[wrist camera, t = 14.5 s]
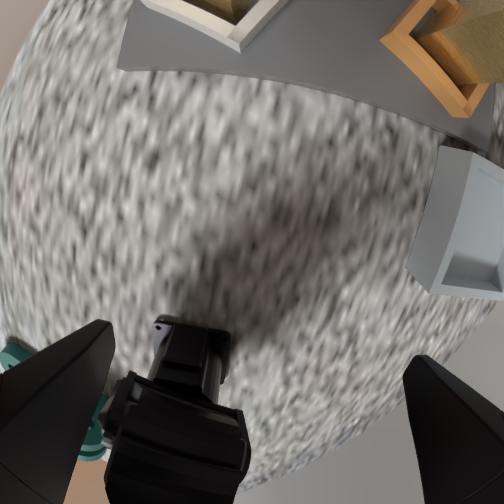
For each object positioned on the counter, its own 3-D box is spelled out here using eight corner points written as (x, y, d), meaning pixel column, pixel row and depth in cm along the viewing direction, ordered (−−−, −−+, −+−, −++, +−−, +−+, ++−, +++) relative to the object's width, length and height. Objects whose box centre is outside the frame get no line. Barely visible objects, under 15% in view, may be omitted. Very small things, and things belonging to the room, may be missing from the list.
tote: (479, 279, 21) (502, 300, 18) (405, 267, 21) (428, 293, 17) (511, 182, 17) (540, 193, 14) (439, 145, 17) (473, 152, 13)
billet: (448, 85, 14) (559, 84, 5) (408, 43, 13) (513, 6, 4) (468, 55, 12) (568, 44, 3) (431, 14, 11) (525, -22, 2)
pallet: (476, 149, 17) (504, 156, 13) (126, 71, 15) (102, 62, 12) (484, 28, 12) (509, 22, 9) (164, -58, 10) (151, -80, 7)
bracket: (122, 403, 29) (103, 455, 21) (115, 424, 31) (99, 469, 24) (5, 333, 25) (-27, 371, 18) (9, 362, 28) (-16, 398, 21)
